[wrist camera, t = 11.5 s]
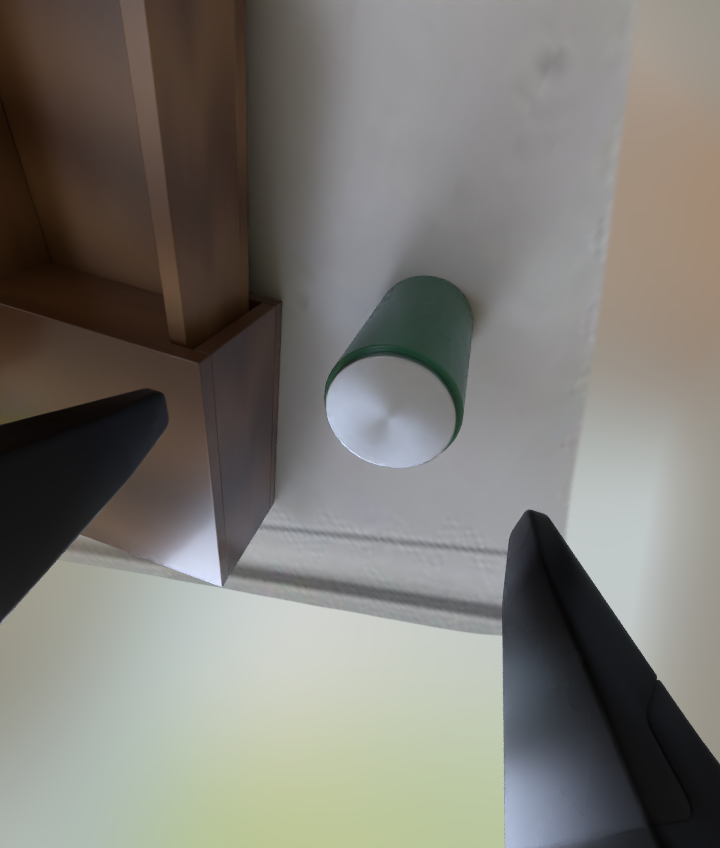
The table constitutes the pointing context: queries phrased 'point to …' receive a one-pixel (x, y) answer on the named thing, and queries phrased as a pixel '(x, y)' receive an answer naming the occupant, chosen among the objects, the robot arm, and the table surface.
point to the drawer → (126, 162)
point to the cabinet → (185, 434)
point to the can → (404, 376)
